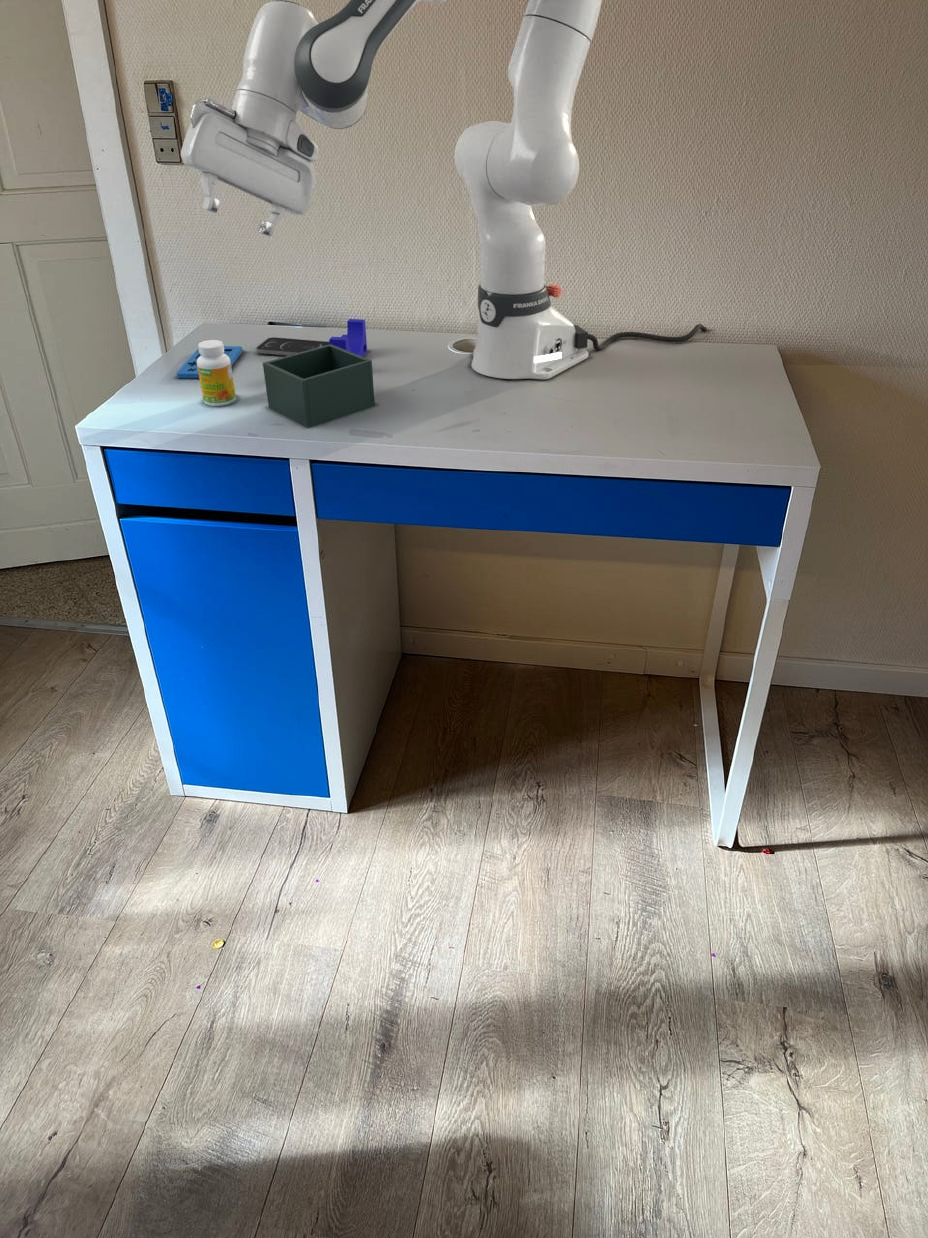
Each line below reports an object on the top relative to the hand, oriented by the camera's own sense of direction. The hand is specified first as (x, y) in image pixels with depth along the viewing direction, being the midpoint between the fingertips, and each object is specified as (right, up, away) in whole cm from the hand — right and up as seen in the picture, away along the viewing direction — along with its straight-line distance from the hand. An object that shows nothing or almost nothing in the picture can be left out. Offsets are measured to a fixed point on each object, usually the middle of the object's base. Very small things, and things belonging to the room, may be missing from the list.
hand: (237, 222), depth 137 cm
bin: (+10, -23, +17) cm, 30 cm away
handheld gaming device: (-13, -11, +35) cm, 39 cm away
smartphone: (+2, -7, +40) cm, 41 cm away
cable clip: (+12, -11, +35) cm, 39 cm away
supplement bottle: (-8, -22, +20) cm, 30 cm away
